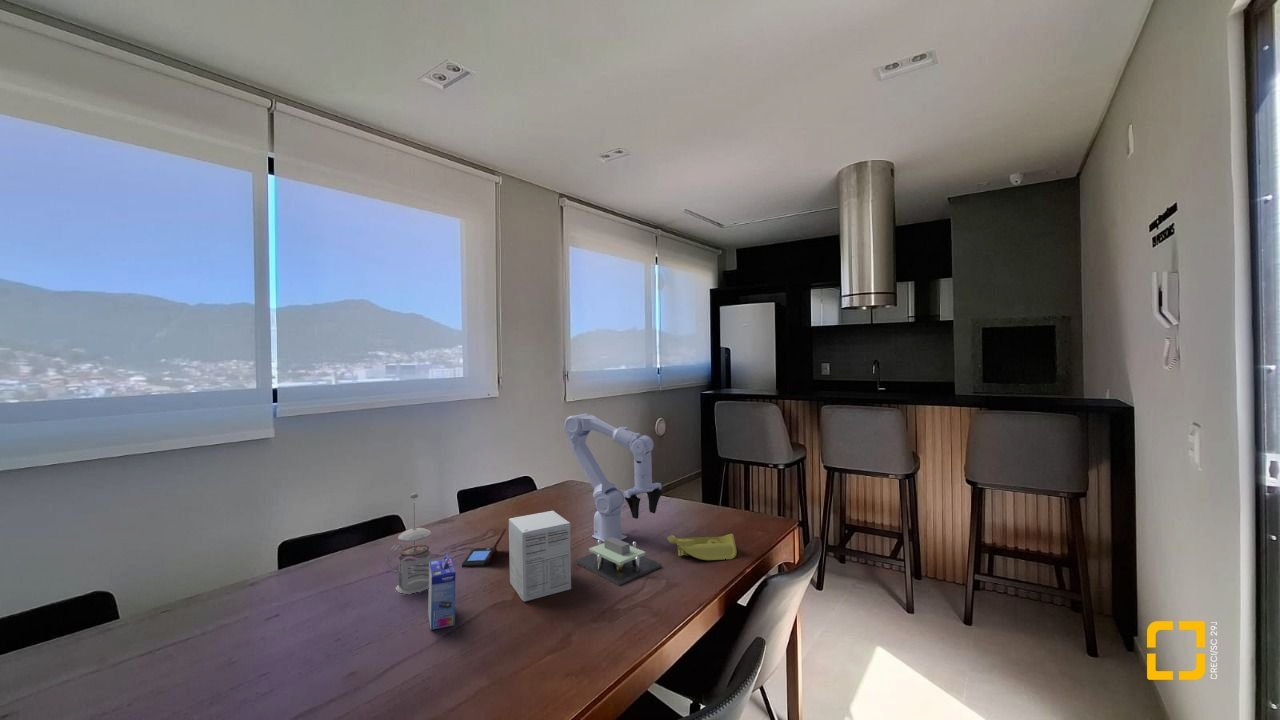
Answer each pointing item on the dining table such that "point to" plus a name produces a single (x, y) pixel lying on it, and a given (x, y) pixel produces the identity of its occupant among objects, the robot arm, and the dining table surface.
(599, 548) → the board
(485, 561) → the handheld game console
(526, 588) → the supplement box
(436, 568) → the ink cartridge box
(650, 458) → the robot arm
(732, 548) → the plastic component
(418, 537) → the french press
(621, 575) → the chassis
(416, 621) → the dining table surface
